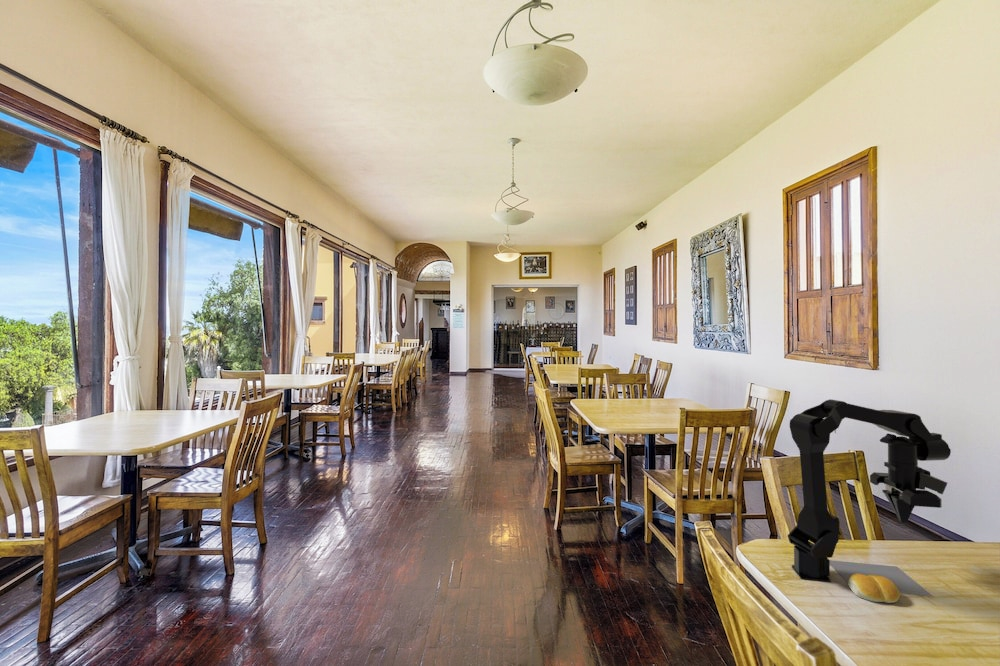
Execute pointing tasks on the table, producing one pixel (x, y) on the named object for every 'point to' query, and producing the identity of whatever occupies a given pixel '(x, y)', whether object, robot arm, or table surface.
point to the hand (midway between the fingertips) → (903, 522)
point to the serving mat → (890, 572)
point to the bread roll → (874, 588)
